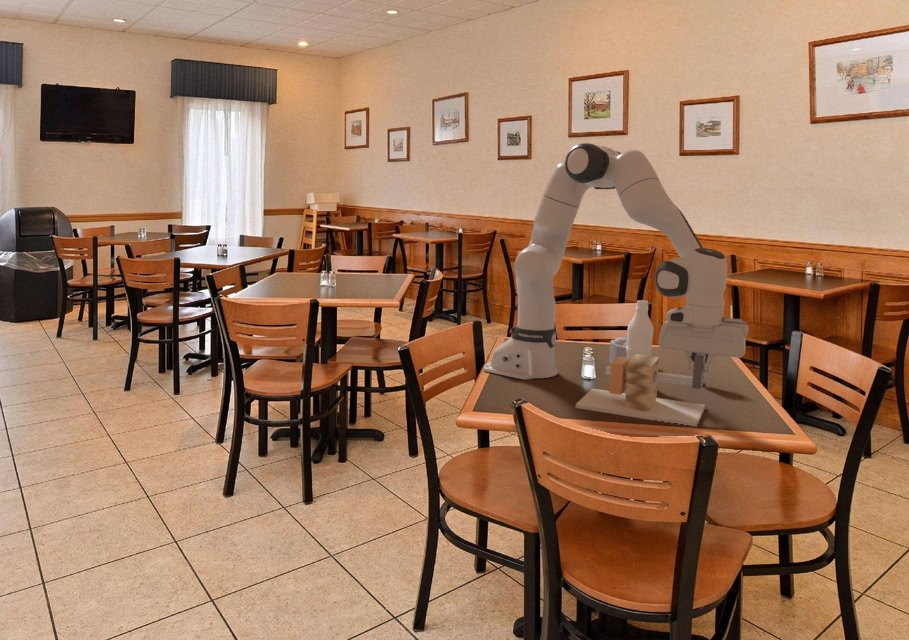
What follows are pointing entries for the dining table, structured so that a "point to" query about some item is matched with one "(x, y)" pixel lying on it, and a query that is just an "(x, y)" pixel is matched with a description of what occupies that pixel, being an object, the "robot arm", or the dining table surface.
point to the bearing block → (641, 382)
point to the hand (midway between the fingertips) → (698, 370)
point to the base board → (659, 411)
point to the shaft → (679, 379)
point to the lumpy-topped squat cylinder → (618, 348)
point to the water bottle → (640, 332)
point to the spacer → (618, 375)
